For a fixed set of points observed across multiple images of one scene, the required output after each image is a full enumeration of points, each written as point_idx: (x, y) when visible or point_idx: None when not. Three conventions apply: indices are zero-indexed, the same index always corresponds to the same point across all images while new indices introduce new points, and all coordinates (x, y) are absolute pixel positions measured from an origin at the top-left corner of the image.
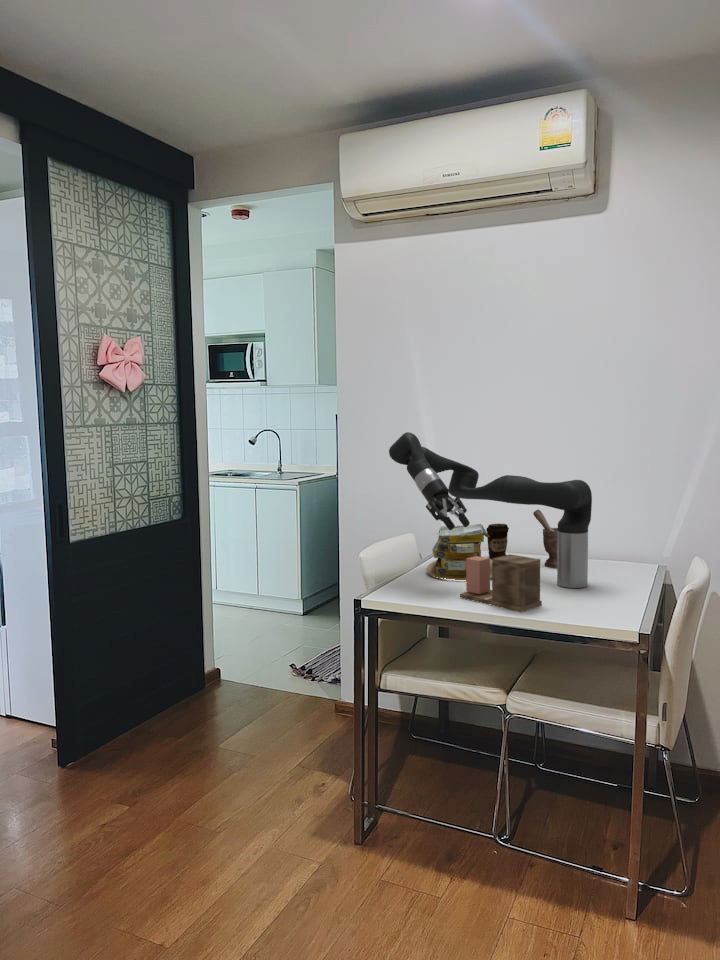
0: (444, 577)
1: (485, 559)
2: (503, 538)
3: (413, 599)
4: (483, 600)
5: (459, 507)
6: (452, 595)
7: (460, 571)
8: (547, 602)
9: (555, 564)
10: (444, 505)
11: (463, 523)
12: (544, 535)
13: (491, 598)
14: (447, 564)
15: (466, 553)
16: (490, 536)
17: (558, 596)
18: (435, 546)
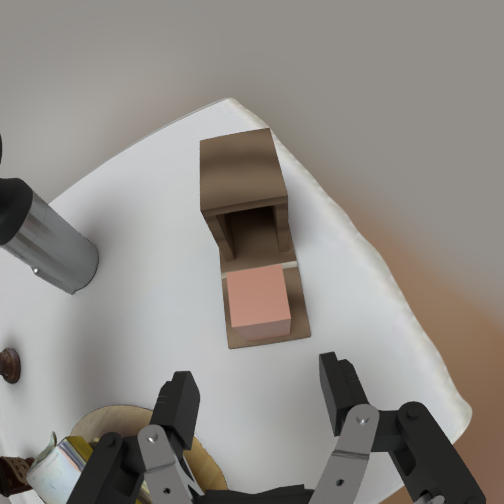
0: (209, 488)
1: (249, 269)
2: (5, 460)
3: (401, 382)
4: (297, 268)
5: (116, 491)
6: (309, 364)
7: None
8: (196, 211)
9: (14, 357)
10: (337, 497)
11: (194, 406)
12: None
13: (279, 262)
14: None
15: None
16: (15, 484)
17: (150, 227)
18: None
